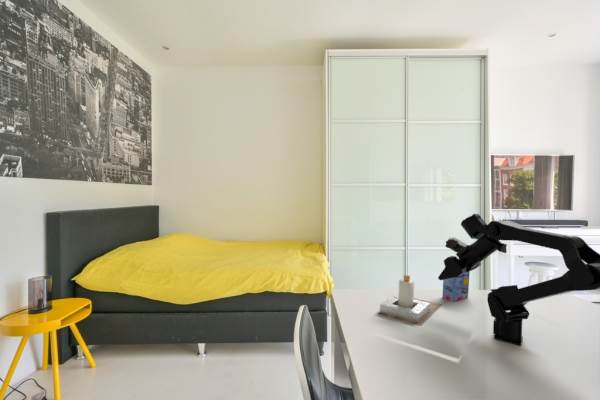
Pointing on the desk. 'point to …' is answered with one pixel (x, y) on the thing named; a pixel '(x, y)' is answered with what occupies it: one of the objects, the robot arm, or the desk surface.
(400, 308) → the grey square frame
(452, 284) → the ink cartridge box
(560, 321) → the desk surface
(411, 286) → the white bottle
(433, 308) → the mount board
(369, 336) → the desk surface
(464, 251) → the robot arm
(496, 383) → the desk surface
